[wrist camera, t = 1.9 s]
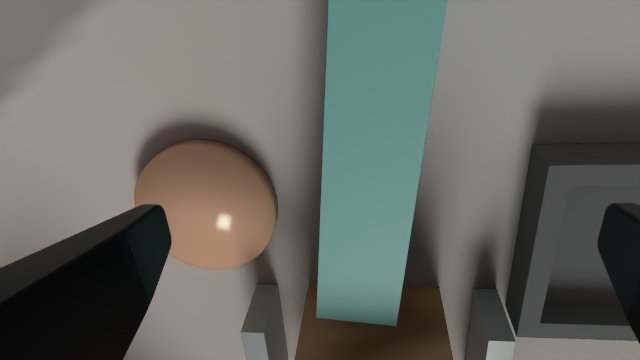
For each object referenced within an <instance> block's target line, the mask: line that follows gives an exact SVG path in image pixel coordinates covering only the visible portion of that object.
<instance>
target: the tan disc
mask: <svg viewBox="0 0 640 360" xmlns="http://www.w3.org/2000/svg"><path fill="white" fill-rule="evenodd" d="M134 200H135V207H138V206H140V205H143V204H158V205H161V206H162V207H163V208H164V211H165V214H166V217H167V221H168V225H169V229H170V232H171V237H172V244H171V248H170V251H169V255H171V256H172V257H174V258H176V259H178V260H180V261H182V262H184V263H187V264H189V265H192V266H196V267H199V268H205V269H215V270H219V269H230V268H235V267H238V266H241V265H244V264H246V263H248V262H250V261H251V260H253V259H255V258H256V257H257V256H258V255H260V253H261V252H262V251H263V250H264V249H265V248H266V246H267V244H268V243H269V241H270V239H271V236H272V233H273V231H274V228H275V225H276V221H277V215H278V203H277V198H276V194H275V191H274V188H273V186H272V184H271V182H270V180H269V179H268V177H267V176H266V174H265V173H264V171H263V170H262V169H261V168H260V167H259V166H258V165H257V164H256V163H255V162H254V161H253V160H252V159H251V158H249V157H248V156H247V155H245V154H244V153H242V152H241V151H239V150H237V149H235V148H233V147H231V146H228V145H226V144H223V143H219V142H216V141H210V140H197V139H196V140H187V141H182V142H178V143H176V144H173V145H170V146H169V147H167V148H165V149H163V150H162V151H161V152H160V153H158V154H157V155H156V156H155V157H154V158H153V159H152V160H151V161H150V162H149V163H148V164H147V165H146V166H145V167H144V169H143V170H142V172H141V173H140V175H139V177H138V180H137V182H136V186H135V194H134Z"/></svg>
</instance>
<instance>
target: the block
mask: <svg viewBox="0 0 640 360" xmlns="http://www.w3.org/2000/svg"><path fill="white" fill-rule="evenodd" d="M317 287H318V285H309V287H308V292H307V297H306V303H305V308H304V313H303V318H302V324H301V329H300V334H299V339H298V345H297V350H296V355H295V360H453V357H452V351H451V346H450V341H449V336H448V330H447V325H446V320H445V315H444V309H443V304H442V299H441V294H440V289H439V287H406V286H403V287H402V293H401V299H400V306H399V312H398V319H397V325H396V326H390V325H381V324H371V323H362V322H352V321H342V320H333V319H323V318H316V312H317Z"/></svg>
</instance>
